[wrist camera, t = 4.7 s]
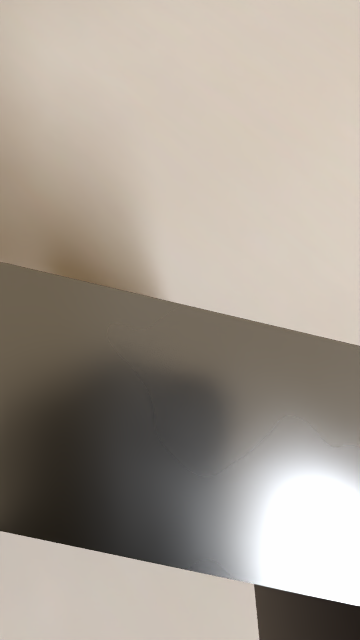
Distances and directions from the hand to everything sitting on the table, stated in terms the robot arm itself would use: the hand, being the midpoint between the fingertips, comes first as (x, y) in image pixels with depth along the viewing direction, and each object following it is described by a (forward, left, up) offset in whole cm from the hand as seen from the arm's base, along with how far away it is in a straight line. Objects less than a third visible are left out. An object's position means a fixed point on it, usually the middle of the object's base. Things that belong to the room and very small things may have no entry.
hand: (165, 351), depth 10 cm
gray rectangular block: (-1, 0, -7) cm, 7 cm away
